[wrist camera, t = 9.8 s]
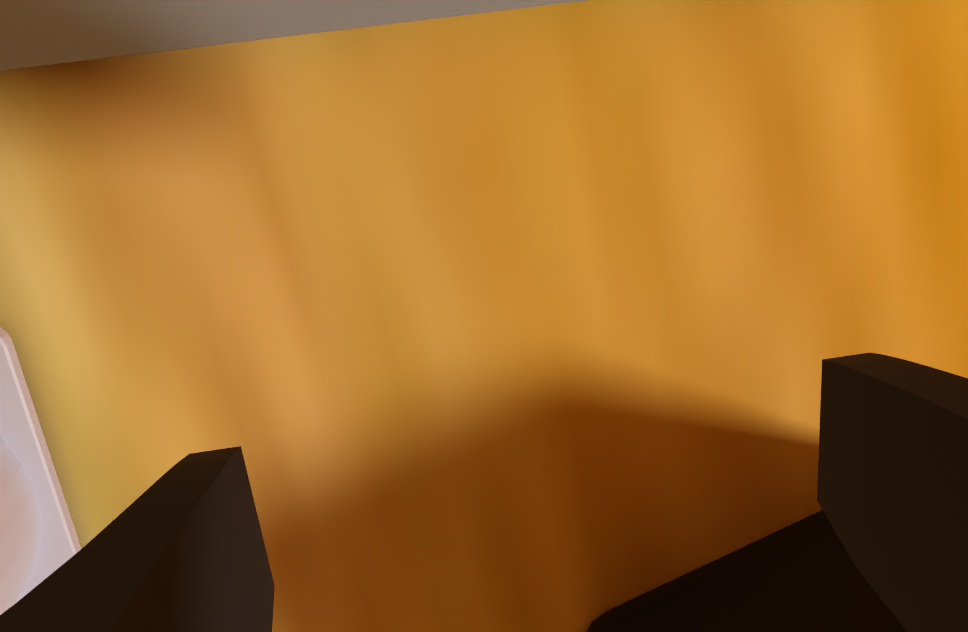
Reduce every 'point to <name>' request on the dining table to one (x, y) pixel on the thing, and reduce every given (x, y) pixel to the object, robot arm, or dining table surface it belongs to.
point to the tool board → (196, 23)
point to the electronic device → (764, 591)
